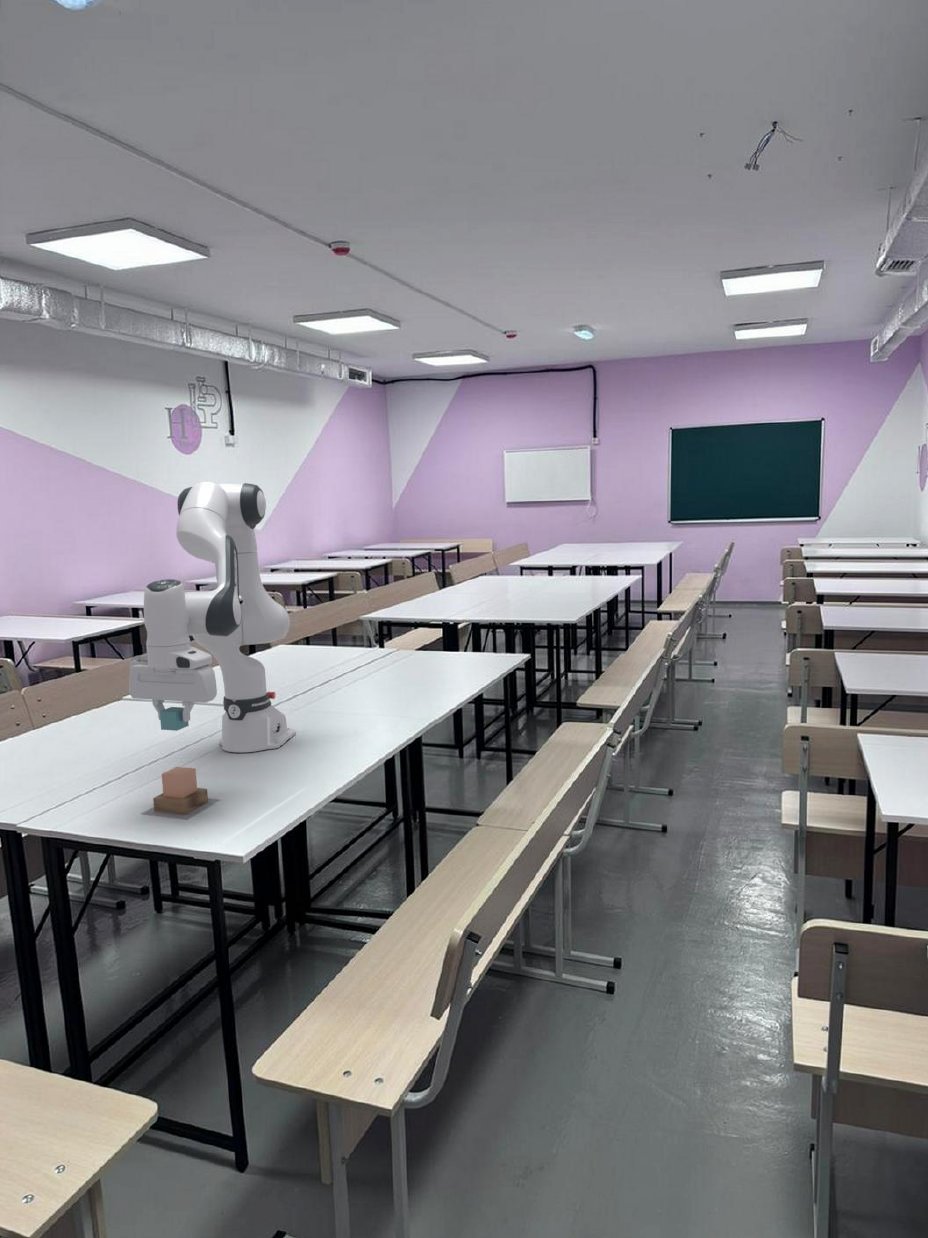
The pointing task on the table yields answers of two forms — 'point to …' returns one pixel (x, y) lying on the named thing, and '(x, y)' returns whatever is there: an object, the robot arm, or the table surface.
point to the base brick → (180, 802)
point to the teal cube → (172, 719)
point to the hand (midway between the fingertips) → (174, 720)
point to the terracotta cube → (179, 782)
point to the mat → (179, 816)
